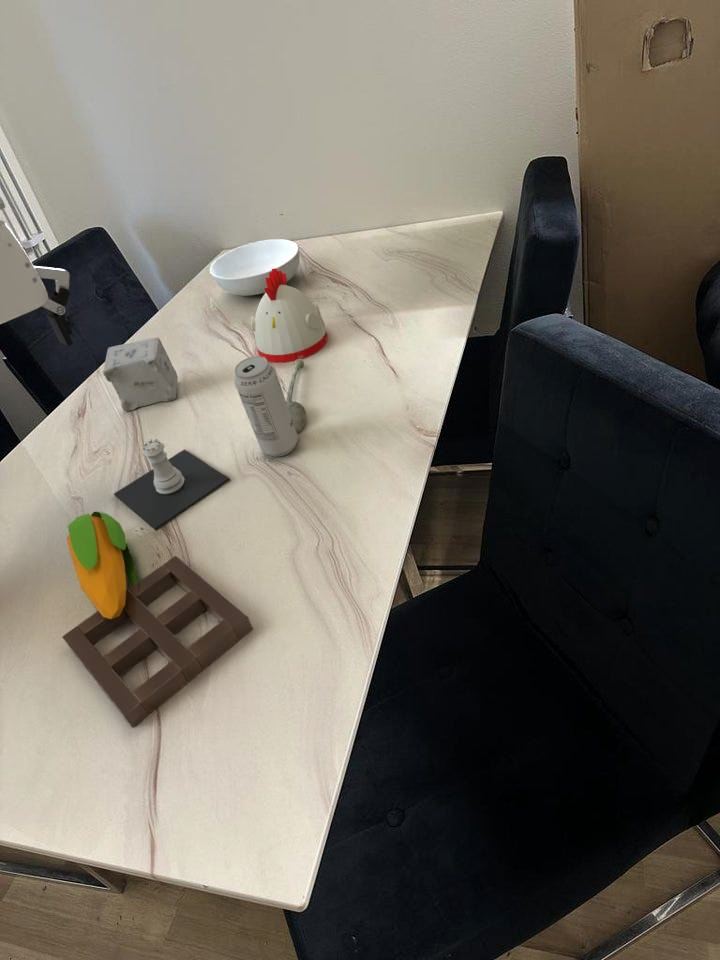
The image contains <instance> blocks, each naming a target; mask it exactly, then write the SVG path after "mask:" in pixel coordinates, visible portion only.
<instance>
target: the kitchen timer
mask: <svg viewBox="0 0 720 960" xmlns="http://www.w3.org/2000/svg"><path fill="white" fill-rule="evenodd" d="M269 277H270V278H265V280H266V284H267V287H268V288H264V290H265V293H263V296H262V298H261V300H260V301H259V304H258V306H257V308H256V312H255V316H254V315H252V316H251V318H250V319H251V320H250V321H251V322H250V323H251V328H252V332H254V341H255V347H256V351H257V353H258V356H260V357H264V358H266V359H267V361H268V363H269V362H270V363H276V364H282V363H284V364H285V363H291V362H295V361H296V360H297V359H302V360H304V359H305V358H308V357H311V356H312V355H314V354H316V353H317V352H319V351H320V350H321V349H323V347H325V346H326V344H327V343H328V339H329V336H328V331H327V327H326V325H325V322H324V320H323V318H322V314H321V311H320V308H319V306H318V304H317V303H316V304H314V303H313V302H312V301H311V300H310V299H309V298H308V297H307V296H306V295H305V294H304V293H302V292H301V291H300V290H299V289H298V288H297V289H296V288H295V287H293V286H290V285H288V284H287V283H288V282H287V281H286V273H282V271H281V270H280V271H277V269H276V268H275V269H272V272H269Z"/></svg>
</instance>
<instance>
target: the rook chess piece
mask: <svg viewBox="0 0 720 960" xmlns="http://www.w3.org/2000/svg"><path fill="white" fill-rule="evenodd" d="M147 442H148V443H147ZM147 442H144V443H142V453H141V454H142V455H143V456H145V457H147V458H148V459H147V462H148V463H149V464H150V465H151V467H152V469H153V470H154V481H153V482H154V486H155V487H156V491H157V492H159V493H161V494H165V495H167V494H172V493H175V492H177V491H178V490H179V489H181V487H182V486H183V484H184V480H185V479H184V477H183V476H182V474H181V472H180V471H179V470H177V469H176V468H175V467H173V466H172V465H171V463H170V462H169V460H168V459H169V458H168V457H167V456H168V453H167V452H166V451H164V450H165V447H166V446H165V444H164V443H163V442H161V441H160V440H159V439H158V438H154V439H153V440H152V439H148V440H147Z"/></svg>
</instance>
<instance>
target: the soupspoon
mask: <svg viewBox="0 0 720 960" xmlns="http://www.w3.org/2000/svg"><path fill="white" fill-rule="evenodd" d="M294 365H295V366H294V367H293V372H292V375H291V379H290V383H289V387H288V391H287V395H286V399H285V400H286V403H287V406H288V409H289V412H290V415H291V418H292V420H293V423H294V426H295V429H296V432H297V434H299V433H300V432H301V431H302V430H303V429H304V427H305V424H306V420H307V412H306V411H307V410H306V408H305V407H304V405H303V404H302V403H300V402H298V401H293V394H294V389H295V388H294V387H295V383H296V378H297V374H298V372H299V371H300V369H302V368H303V367H304V366H305V360H304V359H297V360H296V361H294Z"/></svg>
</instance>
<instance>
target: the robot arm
mask: <svg viewBox="0 0 720 960" xmlns="http://www.w3.org/2000/svg"><path fill="white" fill-rule="evenodd" d="M4 209H6V204H5V202H4V200H3V198H2V197H1V196H0V211H1V210H4ZM70 276H71V275H70V272H69V271H68V270H66V269H63V268H57V267H56V268H55V267H48V266H39V265H34V264H33V262H32V261H31V259H30V257H29V256H28V254H27V252H26V250H25V249H24V247H23V246H22V244H21V243H20V241H19V239H18V238H17V237H16V235H15V234H14V232H13V231H12V229H11V228H10V227H9V226H8V224H7V223H6V222H5V221H4V220H2V219H0V325H2V324H5V323H7V322H10V321H12V320H14V319H17V318H19V317H21V316H23V315H26V314H28V313H31V312H32V311H35V310H37V309H39V308H41V307H42V308H44V309H46V310H47V312H46V318H47V319H48V321H49V323H50V325H51V327H52V329H53V332H54V333H55V335H56V337H57V340H58V341H59V342H60V343H61V344H63V345H65V346H67V347H71V346H73V345H74V342H73V340H72V338H71V336H73V335H74V333H73V331H72V328H71V326H70V324H69V323H68V320H67V318H66V315H65V313H66V304H67V303H68V300H69V297H70V293H71V292H70V290H69V288H70ZM42 279H45V280H54V281H55V288H54V290H53V293H52V296H51V298H49V294H48V291H47V289H46V286H45V284H44V282H43V281H42Z"/></svg>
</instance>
